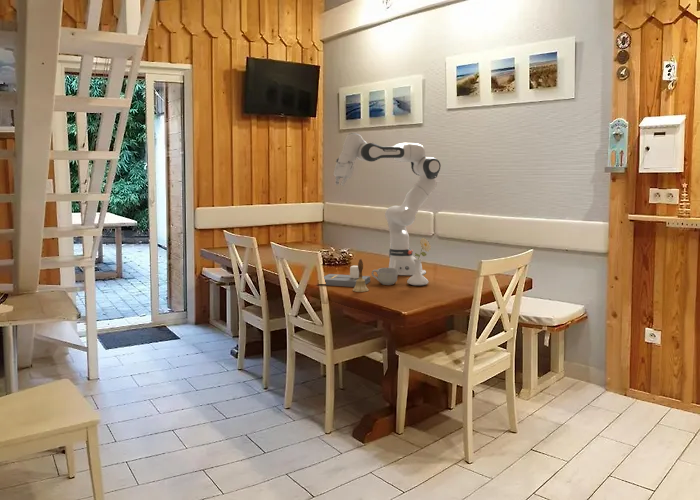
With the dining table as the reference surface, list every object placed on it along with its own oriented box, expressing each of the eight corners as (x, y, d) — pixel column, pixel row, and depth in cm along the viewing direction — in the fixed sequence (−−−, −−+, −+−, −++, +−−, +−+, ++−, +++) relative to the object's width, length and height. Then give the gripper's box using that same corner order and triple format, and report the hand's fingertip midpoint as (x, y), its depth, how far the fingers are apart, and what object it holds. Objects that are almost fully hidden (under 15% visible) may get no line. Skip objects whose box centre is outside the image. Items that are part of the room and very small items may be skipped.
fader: (360, 276, 330) (360, 265, 329) (357, 278, 325) (357, 267, 324) (353, 276, 331) (353, 265, 330) (350, 278, 326) (350, 266, 325)
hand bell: (350, 289, 314) (350, 258, 312) (365, 288, 317) (365, 257, 315) (356, 292, 307) (355, 261, 304) (371, 291, 309) (371, 260, 307)
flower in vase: (414, 287, 317) (415, 240, 314) (402, 284, 327) (403, 237, 324) (435, 285, 323) (436, 238, 320) (423, 281, 333) (423, 236, 330)
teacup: (399, 282, 331) (400, 268, 330) (394, 286, 321) (394, 271, 320) (375, 281, 336) (375, 266, 334) (369, 285, 325) (369, 270, 324)
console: (370, 281, 334) (370, 276, 334) (361, 287, 319) (361, 281, 319) (329, 279, 342) (329, 273, 341) (318, 284, 327) (318, 278, 326)
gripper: (358, 163, 332) (350, 187, 332) (345, 163, 351) (338, 186, 351) (348, 159, 329) (340, 184, 330) (335, 159, 348) (328, 182, 349)
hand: (339, 185), depth 341 cm, fingers open, 8 cm apart
